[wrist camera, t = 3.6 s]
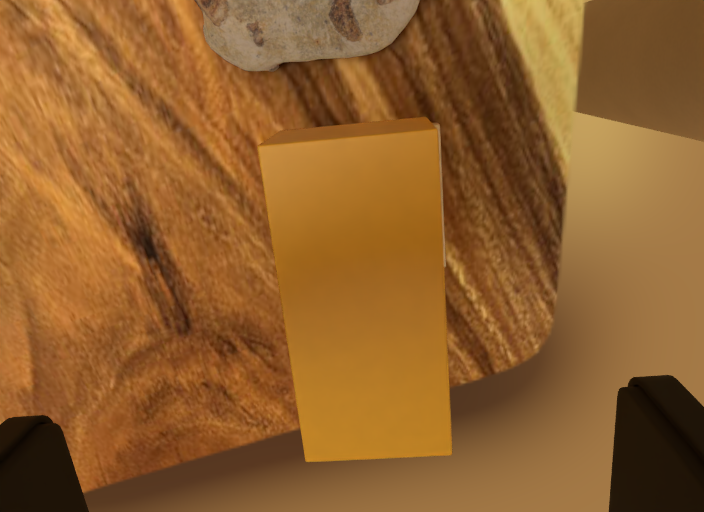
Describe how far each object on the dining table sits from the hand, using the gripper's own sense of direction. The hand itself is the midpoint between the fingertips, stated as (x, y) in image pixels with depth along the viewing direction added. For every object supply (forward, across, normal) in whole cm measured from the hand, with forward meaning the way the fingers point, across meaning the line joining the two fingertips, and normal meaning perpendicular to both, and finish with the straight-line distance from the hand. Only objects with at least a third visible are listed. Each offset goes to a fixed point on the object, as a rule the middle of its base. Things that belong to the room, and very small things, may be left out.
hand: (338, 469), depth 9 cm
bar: (+9, 0, 0) cm, 9 cm away
